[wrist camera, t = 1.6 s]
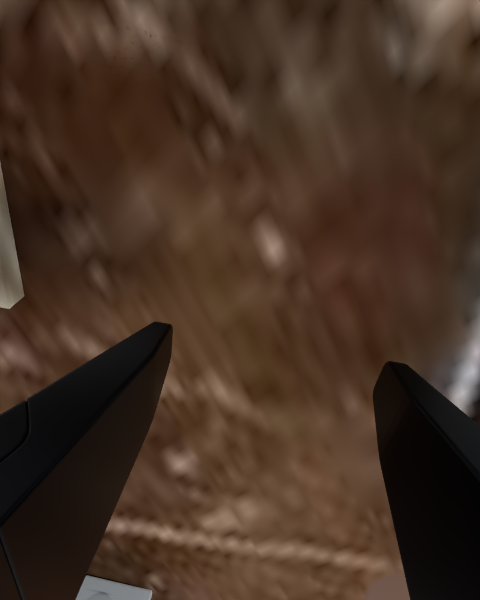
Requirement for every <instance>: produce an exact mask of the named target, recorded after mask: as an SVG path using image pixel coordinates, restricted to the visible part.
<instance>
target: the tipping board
mask: <svg viewBox="0 0 480 600" xmlns="http://www.w3.org/2000/svg"><path fill="white" fill-rule="evenodd" d="M23 297H24V291H23V286H22V280H21V275H20V269H19V264H18V258H17V252H16V247H15V241H14V236H13V230H12V225H11V219H10V213H9V208H8V202H7V197H6V191H5V186H4V180H3V174H2V169H1V163H0V307H1V308H7V309H10V308H11V307H12V306H13V305H14V304H16V303H17V302H18V301H19V300H20V299H22V298H23Z"/></svg>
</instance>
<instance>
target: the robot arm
mask: <svg viewBox="0 0 480 600" xmlns="http://www.w3.org/2000/svg"><path fill="white" fill-rule="evenodd" d="M172 334H173V327H172V325H171V324H167V323H161V322H153V323H151V324H149V325H148V326H146V327H144V328H143V329H141V330H140V331H138V332H136V333H135V334H133V335H131V336H130V337H128V338H126V339H125V340H123V341H121V342H120V343H118V344H116V345H115V346H113V347H111V348H110V349H108V350H107V351H105V352H103V353H102V354H100V355H98V356H97V357H95V358H93V359H92V360H90V361H88V362H87V363H85V364H83V365H82V366H80V367H78V368H77V369H75V370H74V371H72V372H70V373H69V374H67V375H65V376H64V377H62V378H60V379H59V380H57V381H55V382H54V383H52V384H50V385H49V386H47V387H46V388H44V389H42V390H41V391H39V392H37V393H36V394H34V395H32V396H31V397H29V398H28V399H27V402H26V401H22V402H20V403H19V404H17V405H16V406H14V407H12V408H11V409H9V410H7V411H6V412H4V413H2V414H0V600H76V597H77V595H78V593H79V591H80V588H81V586H82V584H83V581H84V579H85V577H86V574H87V572H88V570H89V567H90V565H91V563H92V560H93V558H94V556H95V553H96V551H97V549H98V546H99V544H100V542H101V540H102V537H103V535H104V533H105V530H106V528H107V526H108V523H109V521H110V519H111V516H112V514H113V512H114V509H115V507H116V505H117V502H118V500H119V498H120V495H121V493H122V491H123V489H124V486H125V484H126V482H127V479H128V477H129V475H130V472H131V470H132V468H133V465H134V463H135V461H136V458H137V456H138V454H139V451H140V449H141V447H142V444H143V442H144V440H145V438H146V435H147V433H148V431H149V428H150V425H151V423H152V420H153V417H154V414H155V411H156V408H157V404H158V401H159V397H160V394H161V391H162V387H163V384H164V380H165V377H166V373H167V370H168V366H169V363H170V359H171V351H172ZM373 403H374V413H375V423H376V432H377V442H378V451H379V459H380V464H381V469H382V474H383V478H384V483H385V487H386V492H387V496H388V501H389V505H390V510H391V514H392V519H393V523H394V528H395V532H396V537H397V541H398V546H399V550H400V555H401V560H402V564H403V569H404V573H405V577H406V582H407V587H408V591H409V596H410V600H480V426H479V425H478V424H476V423H475V422H474V421H473V420H472V419H471V418H469V417H468V416H467V415H466V414H465V413H463V412H462V411H461V410H460V409H459V408H458V407H456V406H455V405H454V404H453V403H452V402H450V401H449V400H448V399H447V398H446V397H445V396H443V395H442V394H441V393H440V392H439V391H437V390H436V389H435V388H434V387H433V386H432V385H430V384H429V383H428V382H427V381H426V380H424V379H423V378H422V377H421V376H420V375H419V374H417V373H416V372H415V371H414V370H413V369H411V368H410V367H409V366H408V365H407V364H404V363H398V362H392V361H389V362H386V363H385V365H384V366H383V369H382V371H381V373H380V375H379V378H378V380H377V382H376V384H375V387H374V390H373Z"/></svg>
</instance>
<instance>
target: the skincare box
mask: <svg viewBox="0 0 480 600" xmlns="http://www.w3.org/2000/svg"><path fill="white" fill-rule="evenodd" d="M151 596H152V590H150V589H145V588H140V587H136V586H132V585H127V584H123V583H119V582H114V581H110V580H106V579H101V578H97V577H93V576H89V575H86V577H85V579H84V581H83V584H82V586H81V588H80V591H79V593H78V595H77V597H76V600H150V599H151Z"/></svg>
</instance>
